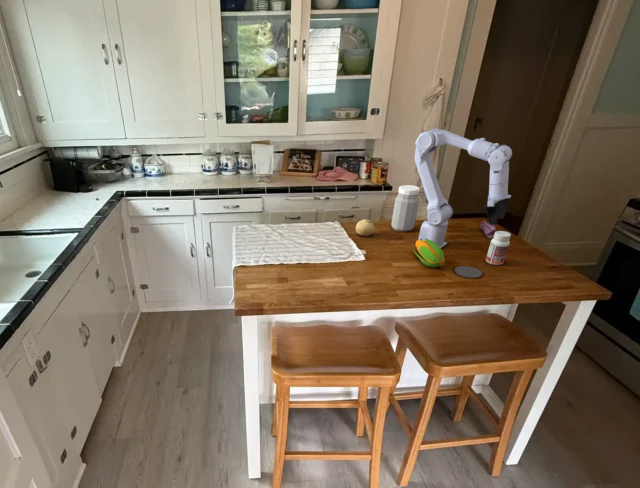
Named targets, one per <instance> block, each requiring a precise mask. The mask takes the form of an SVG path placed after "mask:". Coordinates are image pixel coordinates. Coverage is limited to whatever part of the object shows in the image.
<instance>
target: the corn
mask: <svg viewBox="0 0 640 488" xmlns="http://www.w3.org/2000/svg"><path fill="white" fill-rule="evenodd" d="M425 240H426V241H424V240H416V241H415V247H416V250H417V252H418V253H417V252H416V251H415V250H414V249H412V251H413V254H415V255H416V257H417V258H418V259H419V260H420V261H421V263H422V264H423V265H425V266H426V267H428V268H440V267H441V266H443V265H444V264H445V253H444V251H443V250H442V248H440V247H439V246H438V245H437V244H436V243H434V242H433V241H431V240H429V239H425Z"/></svg>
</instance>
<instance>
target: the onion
mask: <svg viewBox="0 0 640 488" xmlns="http://www.w3.org/2000/svg"><path fill="white" fill-rule="evenodd" d="M375 230H376V229H375V224H374V223H373V221H372V218H371V219H370V220H369V219H366V218H364V219H361V220H360V221H358V222H357V224H356V225H355V232H356V234H357V235H360V236H362V237H369V236H371V235H373V234H374V233H375Z"/></svg>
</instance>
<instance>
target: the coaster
mask: <svg viewBox="0 0 640 488" xmlns="http://www.w3.org/2000/svg"><path fill="white" fill-rule="evenodd" d="M453 271H454V273H455V274H456V275H457V276H459V277H462V278H466V279H479V278H481V277H482V275H483V273H482V271H481V270H480V269H478V268H476V267H473V266H469V265H460V266H459V265H458V266H457V267H454V270H453Z"/></svg>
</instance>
